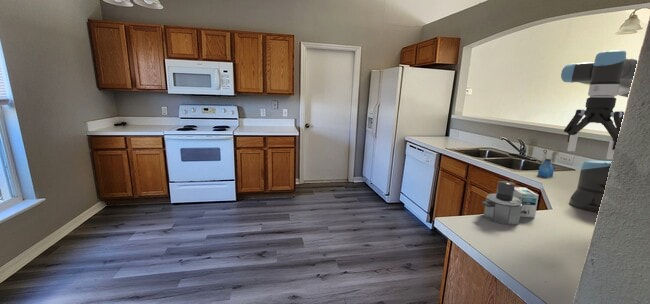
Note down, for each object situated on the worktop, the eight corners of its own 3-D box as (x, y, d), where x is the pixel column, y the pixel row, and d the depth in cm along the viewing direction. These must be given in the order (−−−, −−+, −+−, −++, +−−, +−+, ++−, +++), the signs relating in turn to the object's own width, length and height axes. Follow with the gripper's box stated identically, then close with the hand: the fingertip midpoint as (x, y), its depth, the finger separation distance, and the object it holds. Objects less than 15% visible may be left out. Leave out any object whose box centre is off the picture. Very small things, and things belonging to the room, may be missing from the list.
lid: (504, 199, 124) (507, 178, 122) (528, 210, 112) (532, 187, 110) (479, 200, 122) (482, 179, 120) (501, 211, 110) (505, 188, 108)
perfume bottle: (548, 177, 182) (551, 160, 179) (537, 175, 187) (540, 158, 185) (552, 176, 185) (555, 159, 182) (542, 174, 190) (545, 157, 188)
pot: (506, 211, 126) (509, 194, 124) (531, 223, 113) (534, 205, 112) (472, 212, 123) (474, 196, 121) (494, 226, 110) (496, 207, 109)
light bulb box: (535, 218, 118) (539, 195, 116) (518, 216, 120) (522, 193, 118) (522, 208, 129) (526, 187, 127) (507, 207, 130) (510, 186, 128)
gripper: (558, 96, 108) (549, 148, 113) (636, 97, 84) (620, 163, 88) (574, 96, 109) (565, 148, 113) (656, 97, 85) (640, 162, 89)
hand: (589, 154), depth 101 cm, fingers open, 13 cm apart
